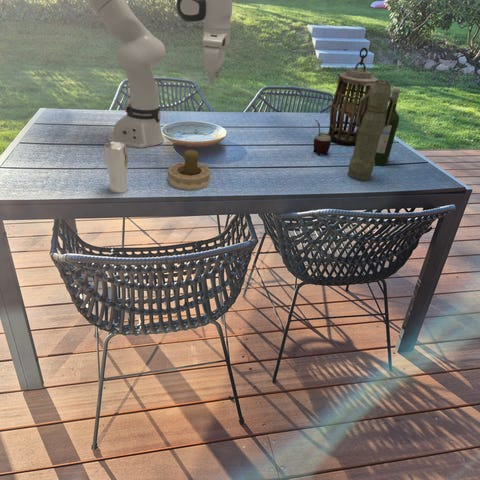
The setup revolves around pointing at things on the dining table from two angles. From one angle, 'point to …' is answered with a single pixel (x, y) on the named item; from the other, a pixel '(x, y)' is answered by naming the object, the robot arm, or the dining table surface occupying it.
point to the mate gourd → (321, 142)
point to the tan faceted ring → (188, 177)
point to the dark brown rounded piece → (190, 162)
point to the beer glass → (117, 166)
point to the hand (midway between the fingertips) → (214, 80)
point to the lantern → (349, 103)
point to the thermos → (370, 129)
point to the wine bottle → (388, 133)
